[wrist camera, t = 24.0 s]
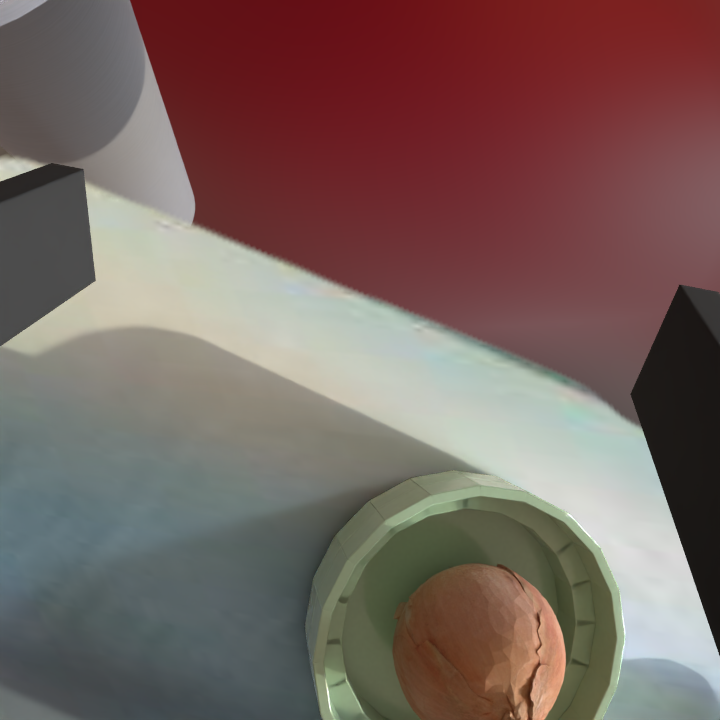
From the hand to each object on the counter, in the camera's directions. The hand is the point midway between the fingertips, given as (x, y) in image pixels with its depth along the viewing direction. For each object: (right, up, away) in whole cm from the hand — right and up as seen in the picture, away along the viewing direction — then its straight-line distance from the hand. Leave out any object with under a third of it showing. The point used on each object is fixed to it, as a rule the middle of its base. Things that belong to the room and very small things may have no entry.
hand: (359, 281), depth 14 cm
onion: (+6, -18, +25) cm, 31 cm away
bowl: (+6, -18, +25) cm, 31 cm away
